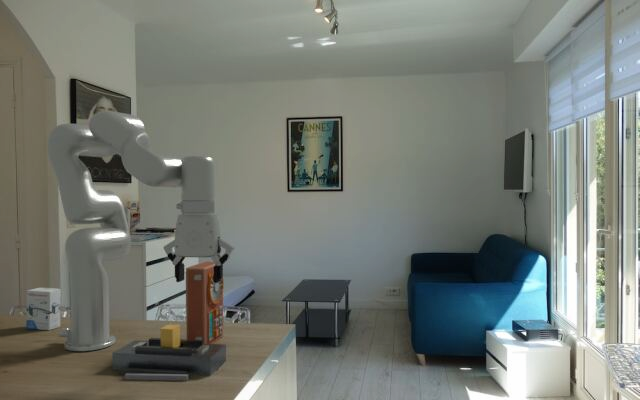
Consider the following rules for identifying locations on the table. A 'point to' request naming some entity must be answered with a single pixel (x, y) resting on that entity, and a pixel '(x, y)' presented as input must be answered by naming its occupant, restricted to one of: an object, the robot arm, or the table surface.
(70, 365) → the table surface
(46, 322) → the ink box
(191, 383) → the table surface
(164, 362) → the slider track
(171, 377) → the grey square bar
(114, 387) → the table surface
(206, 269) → the control panel
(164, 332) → the yellow block
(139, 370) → the dark grey long bar
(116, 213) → the robot arm
